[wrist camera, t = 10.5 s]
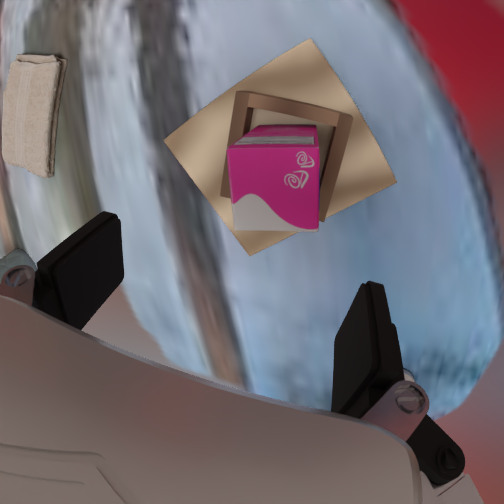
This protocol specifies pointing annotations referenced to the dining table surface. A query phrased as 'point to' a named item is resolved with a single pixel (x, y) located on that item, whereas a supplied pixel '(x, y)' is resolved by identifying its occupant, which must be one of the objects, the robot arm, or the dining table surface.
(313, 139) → the supplement box
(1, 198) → the dining table surface
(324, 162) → the collar holder
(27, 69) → the washcloth
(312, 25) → the dining table surface
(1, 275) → the grey green embossed cup
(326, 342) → the dining table surface
